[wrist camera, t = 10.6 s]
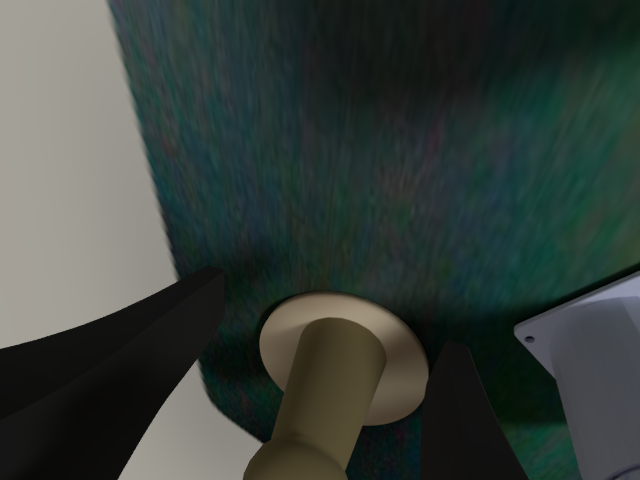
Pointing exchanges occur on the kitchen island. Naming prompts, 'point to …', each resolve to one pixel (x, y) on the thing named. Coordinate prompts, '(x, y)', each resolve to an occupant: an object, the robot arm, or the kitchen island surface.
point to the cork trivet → (396, 337)
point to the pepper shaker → (322, 403)
